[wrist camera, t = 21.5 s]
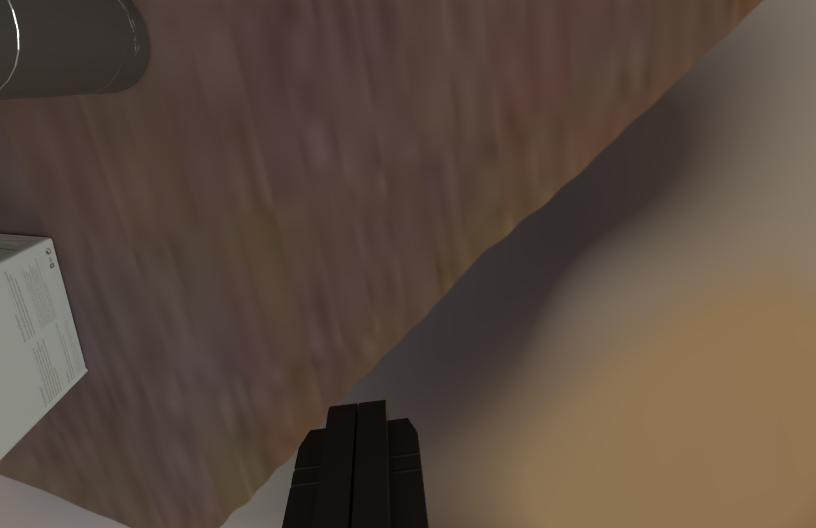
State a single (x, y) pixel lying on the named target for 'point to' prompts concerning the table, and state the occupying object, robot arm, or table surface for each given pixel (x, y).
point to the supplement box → (33, 336)
